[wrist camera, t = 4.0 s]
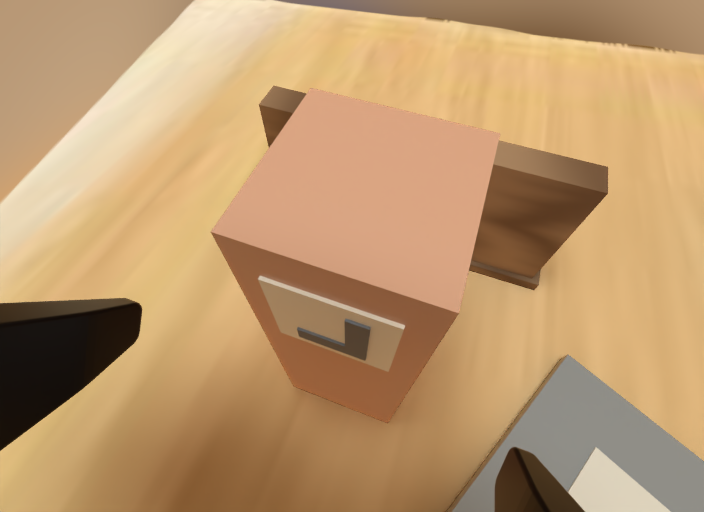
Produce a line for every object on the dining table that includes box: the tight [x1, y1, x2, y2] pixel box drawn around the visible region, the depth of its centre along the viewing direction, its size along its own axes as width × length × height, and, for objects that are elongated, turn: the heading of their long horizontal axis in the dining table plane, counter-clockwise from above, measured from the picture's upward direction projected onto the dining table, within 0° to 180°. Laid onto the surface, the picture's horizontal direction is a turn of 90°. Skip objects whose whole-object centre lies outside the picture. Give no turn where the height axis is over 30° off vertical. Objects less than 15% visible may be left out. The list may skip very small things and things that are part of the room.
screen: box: [259, 86, 608, 290], centre depth 21 cm, size 17×2×8 cm, turn 70°
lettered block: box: [211, 88, 500, 423], centre depth 14 cm, size 5×5×14 cm
